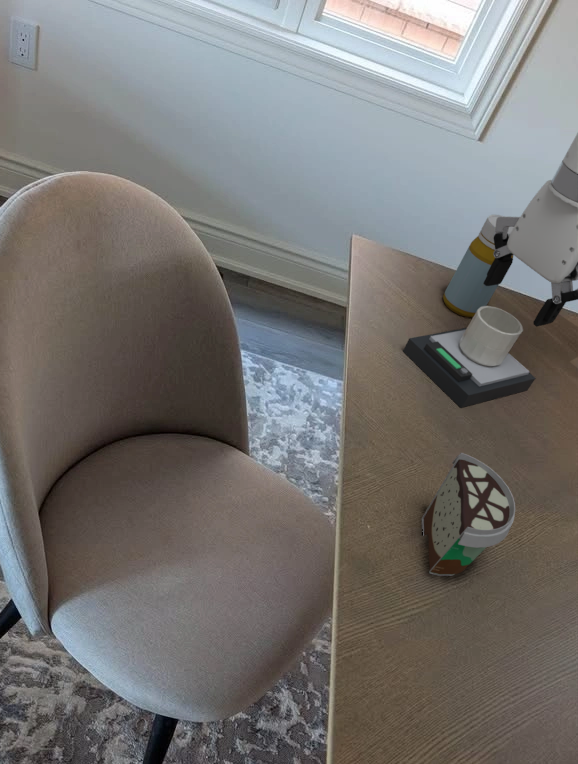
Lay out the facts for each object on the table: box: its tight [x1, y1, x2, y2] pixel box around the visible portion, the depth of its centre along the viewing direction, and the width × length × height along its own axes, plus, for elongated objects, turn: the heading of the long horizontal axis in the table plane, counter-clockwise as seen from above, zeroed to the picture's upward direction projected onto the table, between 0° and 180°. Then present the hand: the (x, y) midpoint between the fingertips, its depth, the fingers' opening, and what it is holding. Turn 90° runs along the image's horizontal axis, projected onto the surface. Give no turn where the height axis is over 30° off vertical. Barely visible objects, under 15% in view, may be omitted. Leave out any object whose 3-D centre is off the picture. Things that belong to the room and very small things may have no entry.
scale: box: [402, 327, 537, 409], centre depth 111 cm, size 15×13×4 cm
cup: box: [460, 305, 524, 366], centre depth 109 cm, size 7×7×6 cm
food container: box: [421, 452, 516, 577], centre depth 81 cm, size 12×6×10 cm, turn 170°
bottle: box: [442, 214, 514, 318], centre depth 121 cm, size 7×7×15 cm
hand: (515, 303), depth 105 cm, fingers open, 9 cm apart
